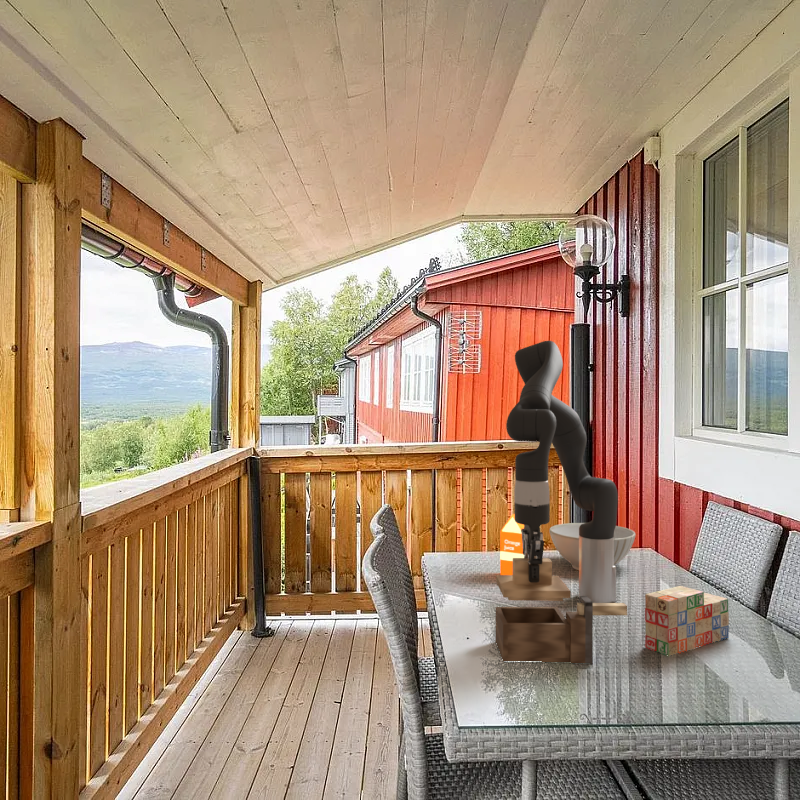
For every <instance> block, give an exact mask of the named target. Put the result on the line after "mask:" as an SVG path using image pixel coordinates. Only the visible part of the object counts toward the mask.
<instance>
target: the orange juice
mask: <svg viewBox="0 0 800 800" xmlns="http://www.w3.org/2000/svg"><path fill="white" fill-rule="evenodd" d="M521 529H524V525H523V524H519V523H517V522H515V513H512V514H511V515H510V517H509V518H508V519H507V521H506V523H505V524H504V526H503V527H502V528H501V530H500V533H499V534H500V539H499V540H500V541H499V542H500V544H499V546H500V549H499V550H500V552H499V553H500V554H499V555H500V557H499V559H500V560H499V561H500V564H499V565H500V568H499V569H500V571H499V572H500V574H499V575H513V558H524V555H523V547H522V533H521Z"/></svg>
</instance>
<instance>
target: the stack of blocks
mask: <svg viewBox="0 0 800 800" xmlns="http://www.w3.org/2000/svg"><path fill="white" fill-rule="evenodd" d="M644 600H645V608H644V621H645V622H644V626H645V630H644V631H645V635H644V636H645V637H644V641H645V644H644V647H646V648H645V649H647V648H648V650H650V649H651V650H650V651H653V650H654V651H653V652H655V651H657V652H656V653H658V652H660V653H659V654H661V653H662V654H661V655H663V654H665V655H664V656H666V655H668V656H667V657H671V656H670V655H672V656H674V655H673V654H675V655H677V654H676V653H679V654H682V653H681V652H683V653H685V652H684V651H686V652H688V651H687V650H690V651H692V650H691V649H693V650H695V649H697V648H696V647H698V648H700V647H699V646H701V647H704V646H707V645H706V644H708V645H710V644H709V643H711V644H714V643H716V642H715V641H718V642H720V641H719V640H721V641H723V640H722V639H724V640H726V639H725V638H728V639H729V637H730V635H729V634H730V633H729V632H730V631H729V629H730V627H729V625H730V618H729V617H730V614H729V599H728V598H726V597H724V596H723V597H722V596H720V595H719V596H718V595H714V594H711V593H707V592H705V591H702V590H698V589H693V588H691V587H687V586H686V587H685V586H683V585H678V586H674V587H669V588H665V589H662V590H658V591H655V592H653V591H652V592H649V593H645V599H644ZM713 642H714V643H713ZM703 645H704V646H703ZM694 648H695V649H694Z"/></svg>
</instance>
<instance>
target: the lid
mask: <svg viewBox="0 0 800 800" xmlns="http://www.w3.org/2000/svg"><path fill="white" fill-rule="evenodd" d="M495 582H496V585H497V587H498V588H499V591H500V593H501V595H502V597H503V598H506V599H507V600H508V601H527V602H528V601H531V602H532V601H535V602H536V601H537V602H538V601H539V602H549V601H550V602H563V601H564V599H571V598H572V597H571V594H572V592H571V589H570V588H569V587H568V586H567V585H566V584H565V582H564V581H563V580H562V579H561V577H560V576H559V575H553V561H552V560H551V559H550V558H549V557H548V558H547V557H545V558H544V557H543V559H542V564H540V565H539V582H537V583H531V582H530V581H529V565H528V558H513V575H500V574H495Z"/></svg>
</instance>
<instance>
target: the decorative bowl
mask: <svg viewBox="0 0 800 800" xmlns="http://www.w3.org/2000/svg"><path fill="white" fill-rule="evenodd" d="M584 523H585V522H571V523H568V522H567V523H561V524H560V523H559V524H555V525H552V526H551V527H550V528H549V531H548V532H549V535H550V538H551V540H552V543H553V545H554V548H555V549H556V550H557V552H558V553H559V555H560V556H561V557H562V558H563V559H564V560H566V561H567V562H568V563H570V564H571V567H572V568H573V569H575V570H577V571H579V527H580V525H581V524H584ZM636 535H637V534H636V532H635V531H634V530H633V529H630V528H627V527H624V526H618V525H616V527H615V530H614V565H615V566H616V565H617V564H619V563H620V562H621V561H622V560H624V558H625V557H627V555H628V554H629V552H630V550H631V549H632V546H633V545H634V542H635V538H636Z"/></svg>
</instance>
